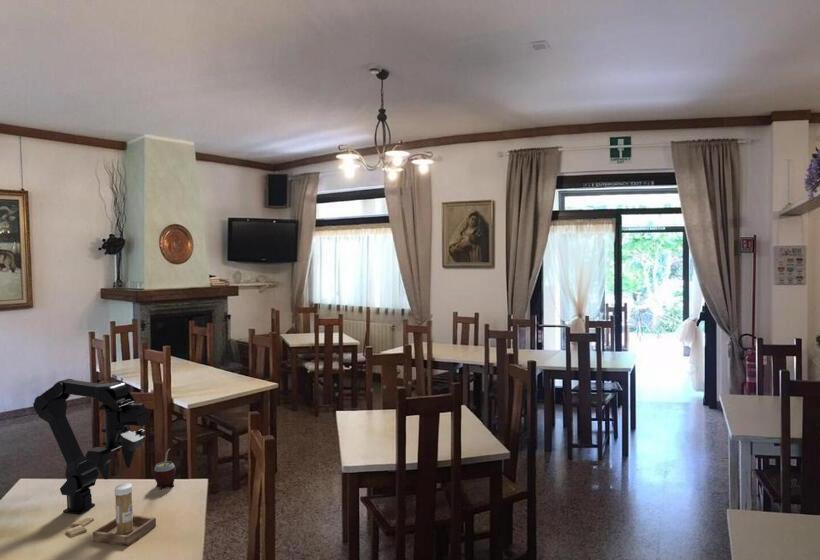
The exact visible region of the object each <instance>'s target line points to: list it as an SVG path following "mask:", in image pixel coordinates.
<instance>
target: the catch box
mask: <svg viewBox="0 0 820 560" xmlns="http://www.w3.org/2000/svg"><path fill="white" fill-rule="evenodd" d="M156 526H157V518H156V517H153V516H152V517H151V516H144V515H135V514H133V530H132V531H131V532H129V533H127V534H117V532H116V531H117V522H116V517H115V518H114V519H112V520H110V521H109V522H108V523H105V524H104V525H102V526H101V527H100V528H98V529H96V530H94V531H92V542H97V543H105V544H112V545H118V546H125V547H127V546H130V545H131V544H132V543H134V542H136V541H137V540H138V539H141V537H142V536H144V535H145V534H146V533H148V532H150V531H151V530H153V528H155V527H156Z"/></svg>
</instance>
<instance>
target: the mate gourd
mask: <svg viewBox="0 0 820 560" xmlns="http://www.w3.org/2000/svg"><path fill="white" fill-rule="evenodd" d="M170 450H171V448H170V447H169V448H168V449H167V450H166V451H165V456H164V457H165V458H164V461H161V462H159V463H157V464H155V467H154V468H153V469H154V470H153V478H154V480H155V482H156V487H160V488H159V491H163V490H164V489H165V488H174V487H175V485H174V482H175V477H176V471H177V468H176V466H175V464H174V463H173V462H172V461H171V460H170V461H169V460H168V455H169V451H170ZM167 460H168V461H167Z"/></svg>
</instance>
